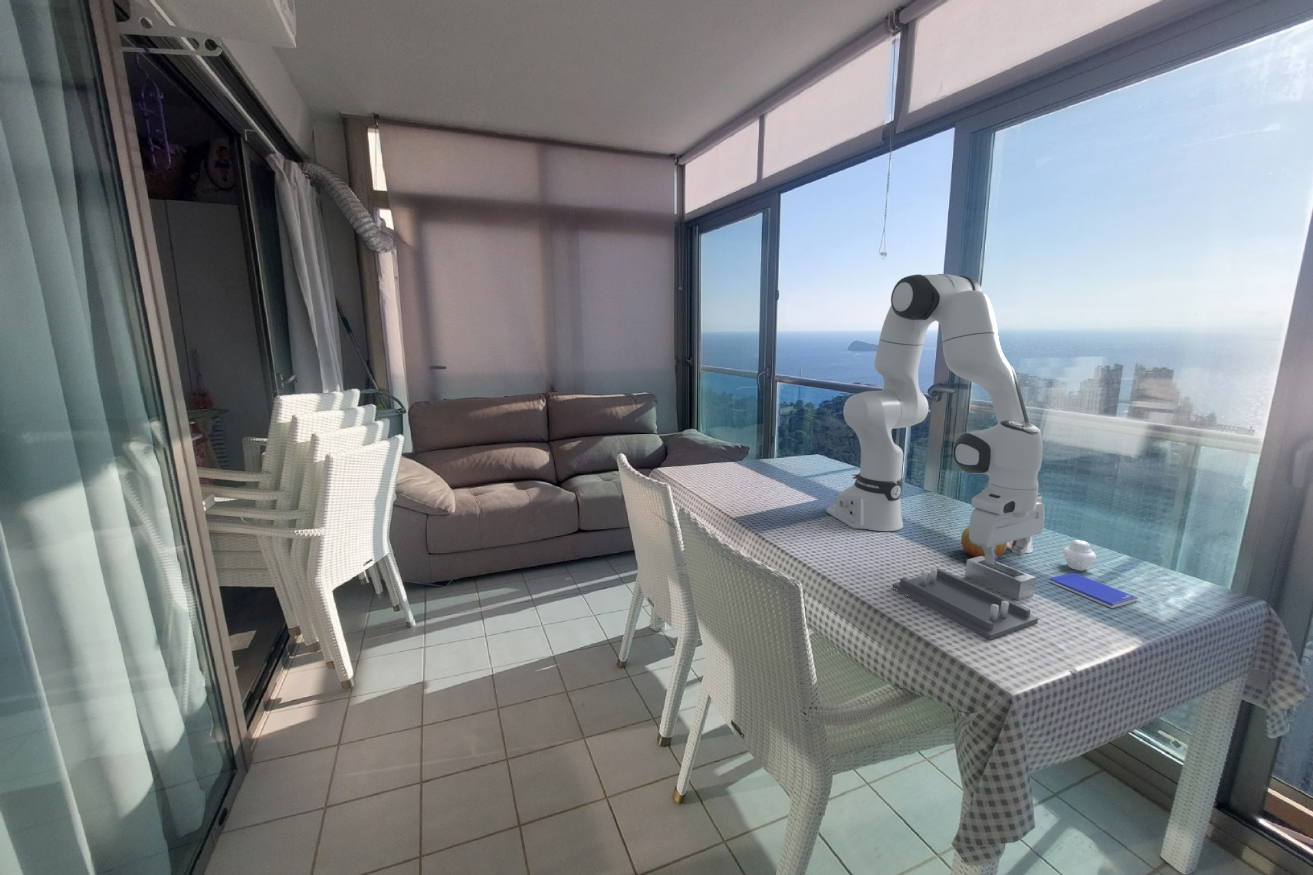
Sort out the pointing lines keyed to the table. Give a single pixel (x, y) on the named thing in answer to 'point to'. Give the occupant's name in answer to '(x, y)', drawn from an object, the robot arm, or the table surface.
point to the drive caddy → (1001, 578)
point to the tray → (967, 603)
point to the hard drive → (1093, 590)
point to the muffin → (1079, 555)
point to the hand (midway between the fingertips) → (1004, 558)
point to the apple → (978, 550)
